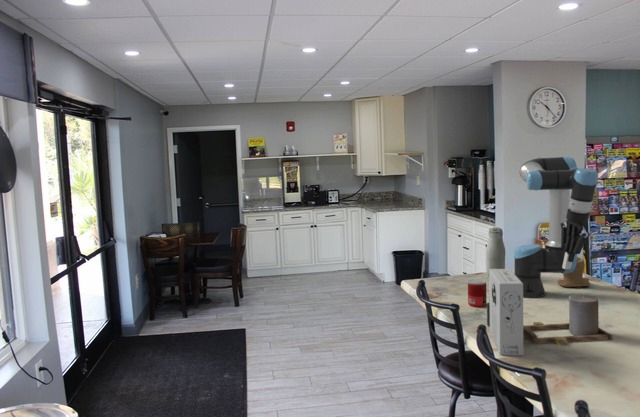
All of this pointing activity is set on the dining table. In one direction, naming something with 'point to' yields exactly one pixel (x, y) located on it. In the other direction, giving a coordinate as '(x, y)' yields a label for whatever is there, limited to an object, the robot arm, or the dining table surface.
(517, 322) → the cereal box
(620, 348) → the dining table surface
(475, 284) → the canned food
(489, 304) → the supplement bottle
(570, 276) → the stone cup
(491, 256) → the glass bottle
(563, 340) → the frame
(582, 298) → the pillar candle
